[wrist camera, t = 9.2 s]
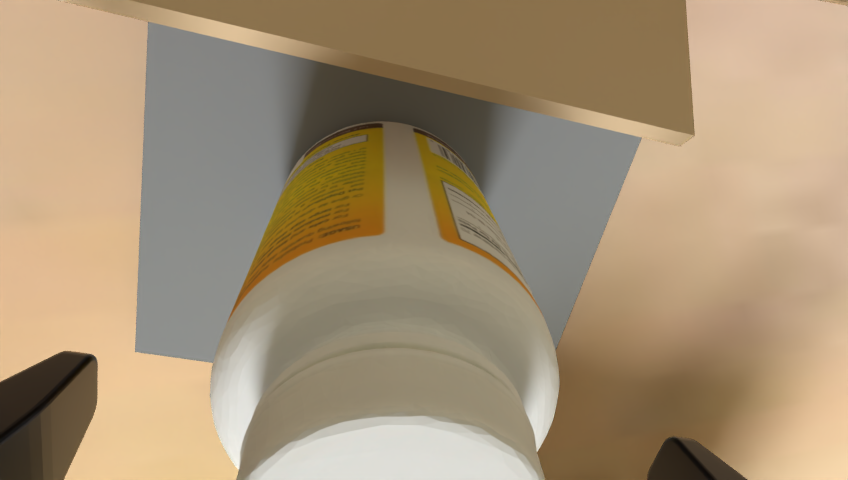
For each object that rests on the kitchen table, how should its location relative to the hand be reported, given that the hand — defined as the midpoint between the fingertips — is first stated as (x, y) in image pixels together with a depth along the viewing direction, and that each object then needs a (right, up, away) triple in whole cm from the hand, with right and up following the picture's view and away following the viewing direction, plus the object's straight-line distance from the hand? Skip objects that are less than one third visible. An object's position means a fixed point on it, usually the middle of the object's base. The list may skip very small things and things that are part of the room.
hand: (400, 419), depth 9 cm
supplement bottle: (-1, +4, +7) cm, 8 cm away
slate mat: (-1, +4, +8) cm, 9 cm away
